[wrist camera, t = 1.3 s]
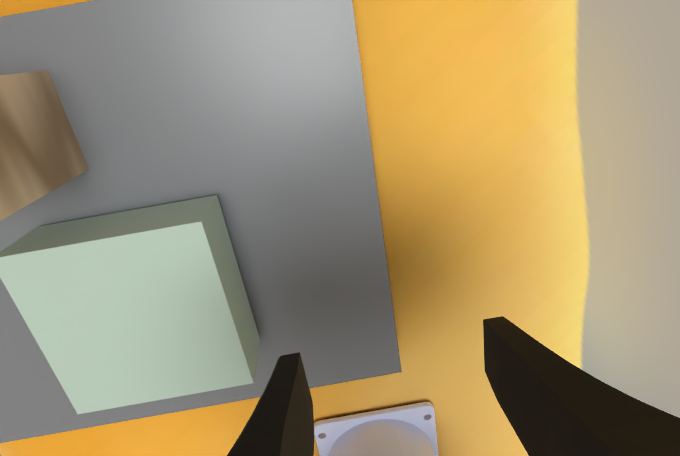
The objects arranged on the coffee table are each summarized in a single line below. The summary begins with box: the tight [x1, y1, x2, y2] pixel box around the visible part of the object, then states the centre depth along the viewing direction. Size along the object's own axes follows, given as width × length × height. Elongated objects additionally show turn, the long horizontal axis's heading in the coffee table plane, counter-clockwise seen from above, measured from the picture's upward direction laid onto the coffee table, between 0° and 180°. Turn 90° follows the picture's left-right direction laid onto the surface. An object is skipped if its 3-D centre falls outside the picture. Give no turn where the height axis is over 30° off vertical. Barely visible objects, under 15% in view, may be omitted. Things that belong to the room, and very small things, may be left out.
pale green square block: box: [0, 195, 260, 414], centre depth 19 cm, size 8×8×3 cm
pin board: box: [0, 0, 401, 443], centre depth 21 cm, size 20×24×2 cm
